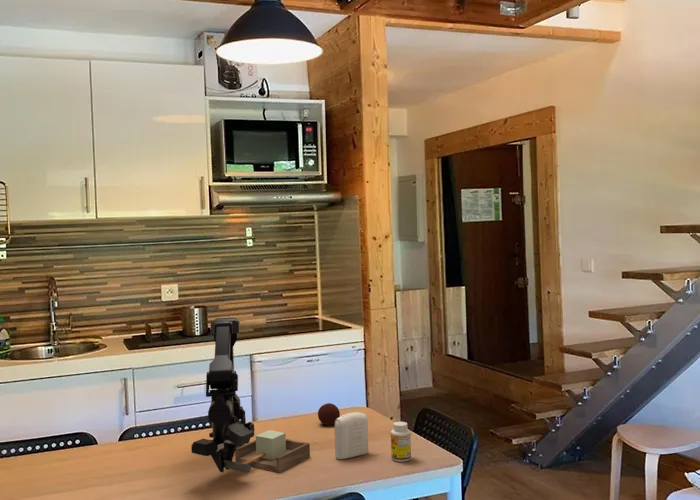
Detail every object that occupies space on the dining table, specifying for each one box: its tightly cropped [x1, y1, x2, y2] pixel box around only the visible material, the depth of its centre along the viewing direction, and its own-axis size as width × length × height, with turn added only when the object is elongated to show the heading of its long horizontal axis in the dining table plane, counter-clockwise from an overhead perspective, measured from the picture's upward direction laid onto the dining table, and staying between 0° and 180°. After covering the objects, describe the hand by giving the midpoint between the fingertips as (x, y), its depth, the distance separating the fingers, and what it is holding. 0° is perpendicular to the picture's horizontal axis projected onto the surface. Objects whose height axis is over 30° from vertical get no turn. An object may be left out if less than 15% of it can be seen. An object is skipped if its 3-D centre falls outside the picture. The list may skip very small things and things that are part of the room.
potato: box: [317, 402, 341, 426], centre depth 228 cm, size 7×8×7 cm
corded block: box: [224, 429, 287, 474], centre depth 188 cm, size 10×20×6 cm, turn 147°
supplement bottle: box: [390, 421, 412, 463], centre depth 192 cm, size 6×6×10 cm
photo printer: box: [334, 411, 369, 460], centre depth 197 cm, size 10×4×12 cm, turn 123°
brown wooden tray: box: [234, 438, 311, 473], centre depth 195 cm, size 16×14×4 cm
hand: (224, 470), depth 183 cm, fingers closed on corded block, 2 cm apart
